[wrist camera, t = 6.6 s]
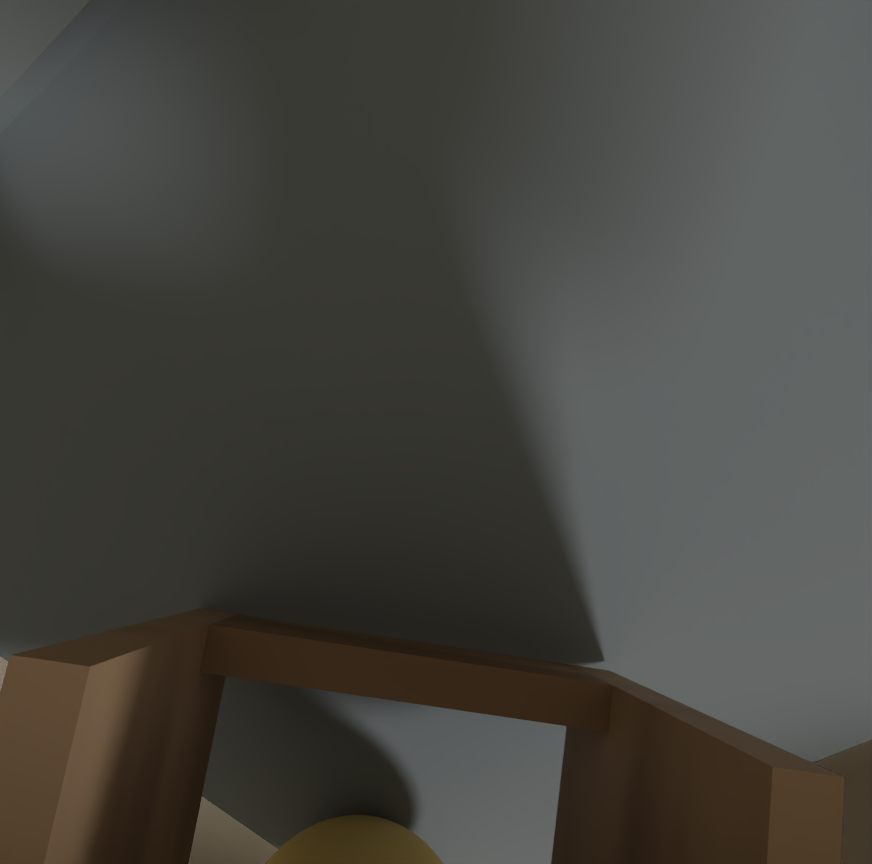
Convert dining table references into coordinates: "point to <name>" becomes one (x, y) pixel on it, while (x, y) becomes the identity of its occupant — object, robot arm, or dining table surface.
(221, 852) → the dining table surface
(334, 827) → the ball
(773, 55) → the tray mat
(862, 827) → the dining table surface
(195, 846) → the dining table surface
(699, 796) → the box
